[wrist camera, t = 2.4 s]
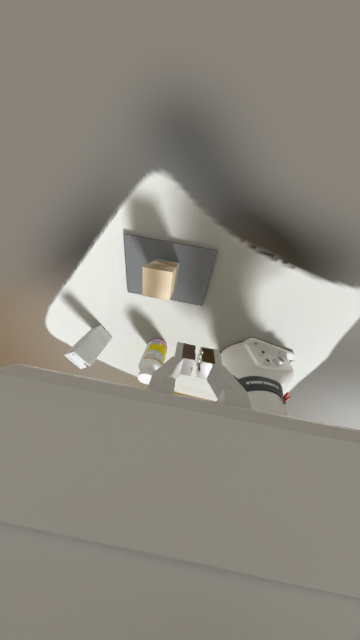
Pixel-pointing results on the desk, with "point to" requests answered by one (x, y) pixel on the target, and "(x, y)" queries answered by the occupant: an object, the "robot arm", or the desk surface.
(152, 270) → the birch block
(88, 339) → the skincare box
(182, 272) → the rubber mat
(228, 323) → the desk surface
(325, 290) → the desk surface
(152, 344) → the supplement bottle
